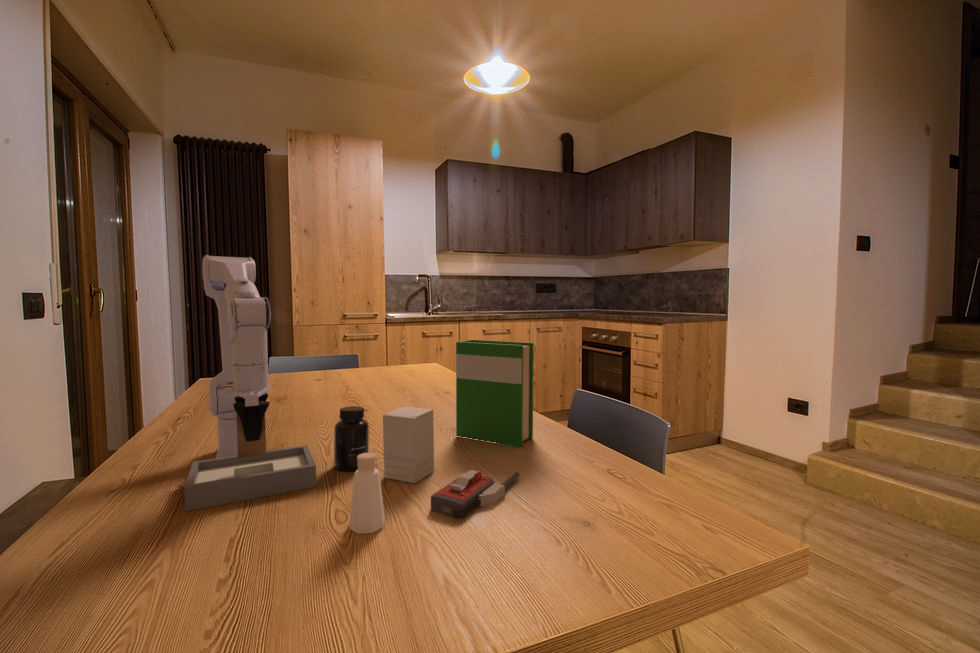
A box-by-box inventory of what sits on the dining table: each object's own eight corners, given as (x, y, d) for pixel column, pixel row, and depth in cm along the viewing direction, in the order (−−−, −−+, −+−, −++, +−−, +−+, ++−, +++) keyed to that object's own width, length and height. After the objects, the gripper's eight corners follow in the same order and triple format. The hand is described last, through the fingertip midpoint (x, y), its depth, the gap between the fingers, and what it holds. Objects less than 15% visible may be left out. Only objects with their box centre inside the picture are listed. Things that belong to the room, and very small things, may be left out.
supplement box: (435, 470, 89) (435, 409, 89) (414, 484, 83) (413, 418, 82) (405, 465, 93) (404, 405, 92) (382, 478, 86) (381, 413, 85)
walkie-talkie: (469, 529, 68) (523, 481, 85) (469, 501, 67) (523, 459, 85) (423, 515, 72) (483, 473, 89) (423, 489, 72) (483, 451, 89)
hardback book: (532, 439, 110) (533, 342, 108) (521, 447, 103) (521, 345, 102) (470, 429, 118) (470, 339, 116) (456, 437, 111) (456, 341, 110)
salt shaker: (352, 538, 64) (351, 464, 64) (346, 521, 69) (344, 452, 68) (389, 529, 67) (388, 457, 66) (380, 513, 72) (380, 446, 71)
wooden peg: (238, 450, 83) (236, 403, 82) (265, 447, 85) (263, 400, 85) (237, 458, 79) (236, 408, 78) (266, 454, 81) (264, 405, 81)
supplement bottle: (358, 473, 88) (358, 413, 87) (327, 470, 89) (326, 411, 89) (374, 461, 95) (374, 405, 94) (345, 458, 96) (345, 404, 95)
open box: (193, 482, 83) (192, 461, 83) (307, 463, 93) (307, 445, 93) (185, 511, 72) (184, 487, 72) (316, 486, 82) (315, 465, 81)
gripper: (226, 360, 86) (229, 429, 86) (223, 370, 73) (226, 451, 74) (267, 357, 89) (269, 424, 90) (270, 367, 76) (273, 445, 77)
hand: (252, 436), depth 82 cm, fingers closed on wooden peg, 4 cm apart
